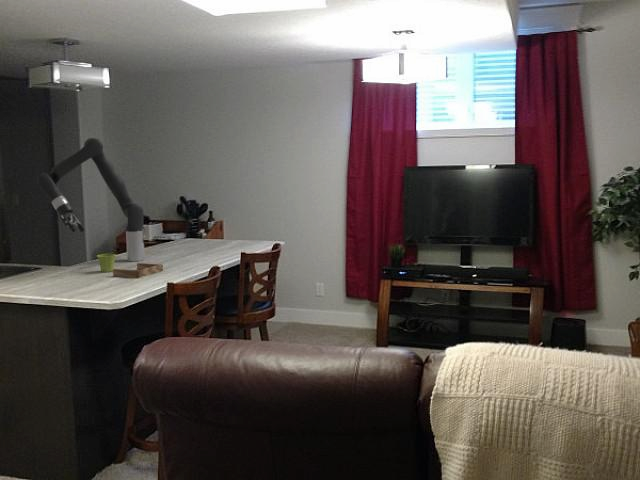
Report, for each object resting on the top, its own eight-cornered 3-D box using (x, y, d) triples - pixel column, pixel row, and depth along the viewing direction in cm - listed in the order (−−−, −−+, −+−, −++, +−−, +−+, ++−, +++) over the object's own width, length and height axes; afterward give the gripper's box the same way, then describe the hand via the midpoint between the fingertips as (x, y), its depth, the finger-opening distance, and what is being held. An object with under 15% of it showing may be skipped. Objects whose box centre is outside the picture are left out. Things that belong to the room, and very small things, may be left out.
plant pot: (99, 273, 314) (98, 256, 313) (96, 270, 322) (95, 254, 321) (118, 272, 318) (117, 255, 317) (115, 269, 327) (114, 253, 325)
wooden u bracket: (138, 269, 326) (138, 263, 325) (162, 271, 320) (162, 264, 320) (113, 276, 307) (112, 269, 306) (138, 278, 301) (138, 271, 301)
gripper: (60, 201, 319) (77, 227, 318) (74, 202, 333) (91, 227, 332) (49, 210, 319) (66, 235, 319) (64, 210, 334) (80, 235, 333)
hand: (79, 231), depth 325 cm, fingers open, 8 cm apart
